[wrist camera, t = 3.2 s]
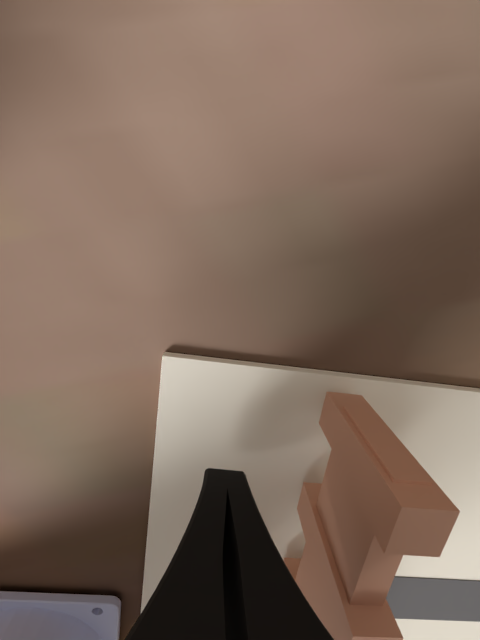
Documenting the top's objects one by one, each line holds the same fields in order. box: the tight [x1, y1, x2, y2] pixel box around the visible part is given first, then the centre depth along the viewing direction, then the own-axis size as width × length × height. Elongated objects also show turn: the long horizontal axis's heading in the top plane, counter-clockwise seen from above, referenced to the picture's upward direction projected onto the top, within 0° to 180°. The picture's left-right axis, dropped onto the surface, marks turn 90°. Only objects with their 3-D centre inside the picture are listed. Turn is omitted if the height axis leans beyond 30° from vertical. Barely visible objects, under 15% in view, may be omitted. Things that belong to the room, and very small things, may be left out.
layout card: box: [140, 352, 480, 640], centre depth 15 cm, size 22×22×1 cm
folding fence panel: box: [283, 391, 460, 640], centre depth 10 cm, size 10×1×5 cm, turn 171°
